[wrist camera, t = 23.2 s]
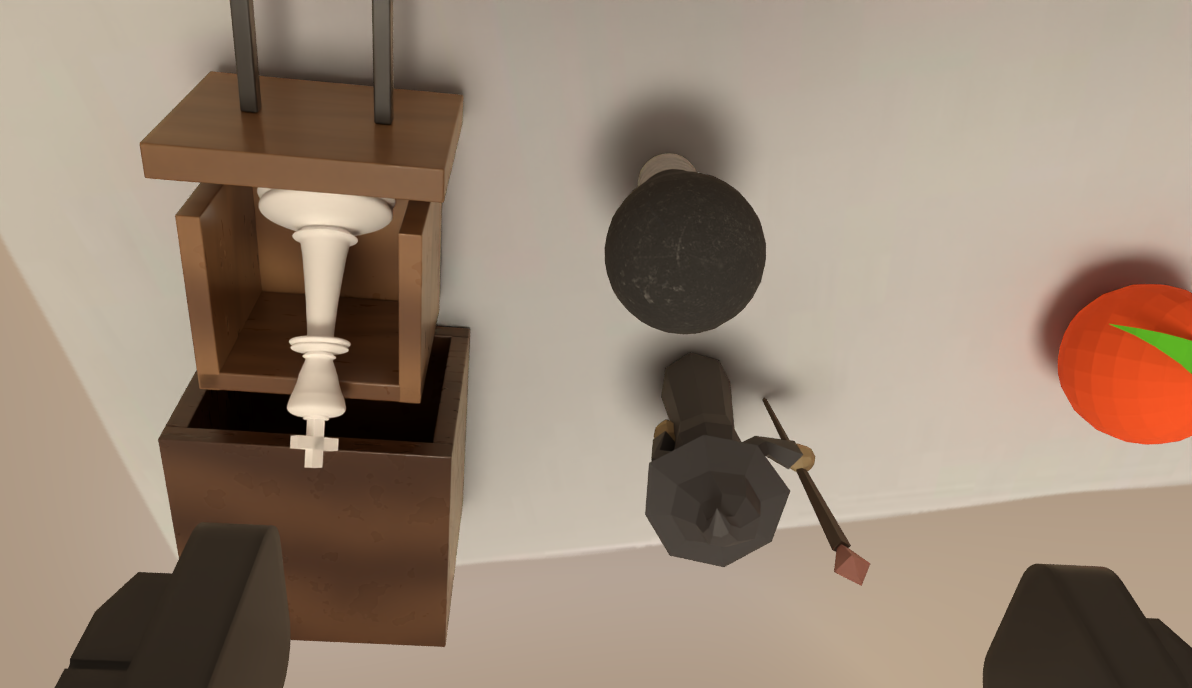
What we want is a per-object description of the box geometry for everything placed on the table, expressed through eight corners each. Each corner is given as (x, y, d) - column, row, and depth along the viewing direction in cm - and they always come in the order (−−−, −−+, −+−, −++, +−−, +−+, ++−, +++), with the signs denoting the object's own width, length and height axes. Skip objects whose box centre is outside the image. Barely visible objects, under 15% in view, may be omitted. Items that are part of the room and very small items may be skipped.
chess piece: (311, 160, 32) (294, 460, 30) (423, 199, 36) (414, 467, 34) (230, 192, 35) (209, 467, 33) (340, 224, 39) (328, 473, 37)
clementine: (985, 381, 42) (1136, 418, 36) (1049, 239, 43) (1209, 251, 36) (1088, 444, 46) (1240, 488, 40) (1145, 313, 46) (1306, 335, 40)
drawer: (191, -95, 33) (107, -53, 27) (468, -65, 34) (449, -17, 28) (234, 291, 41) (177, 391, 35) (456, 307, 42) (438, 408, 36)
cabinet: (229, 310, 43) (157, 439, 35) (470, 327, 43) (451, 457, 36) (250, 491, 48) (192, 635, 41) (462, 503, 49) (445, 647, 42)
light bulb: (625, 252, 42) (643, 387, 33) (576, 137, 39) (582, 253, 30) (750, 207, 41) (800, 334, 32) (709, 85, 38) (752, 190, 29)
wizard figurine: (639, 437, 47) (662, 631, 37) (623, 342, 44) (642, 526, 34) (808, 411, 47) (878, 602, 37) (803, 314, 44) (877, 493, 34)
